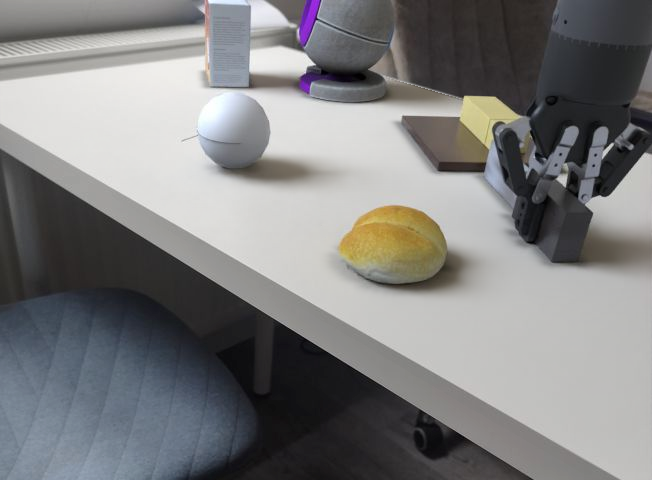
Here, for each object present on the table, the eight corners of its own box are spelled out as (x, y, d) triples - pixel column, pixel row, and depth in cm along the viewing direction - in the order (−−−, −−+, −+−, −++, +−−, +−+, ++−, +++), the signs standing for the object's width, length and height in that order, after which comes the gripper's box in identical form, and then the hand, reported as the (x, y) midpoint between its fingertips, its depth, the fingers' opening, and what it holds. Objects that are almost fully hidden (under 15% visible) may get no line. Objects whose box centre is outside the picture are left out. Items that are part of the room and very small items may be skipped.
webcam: (293, 74, 103) (300, -41, 95) (378, 79, 104) (392, -34, 96) (298, 99, 93) (305, -27, 84) (392, 104, 94) (409, -20, 85)
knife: (577, 261, 59) (593, 212, 56) (551, 262, 59) (566, 212, 56) (497, 176, 74) (507, 134, 72) (476, 176, 74) (485, 134, 71)
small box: (205, 72, 101) (203, -9, 95) (243, 72, 102) (244, -7, 96) (208, 87, 95) (207, 2, 89) (249, 87, 96) (251, 4, 90)
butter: (489, 121, 87) (495, 96, 85) (517, 145, 80) (523, 119, 78) (459, 120, 87) (464, 95, 85) (484, 145, 79) (489, 118, 78)
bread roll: (326, 274, 54) (330, 227, 52) (361, 230, 61) (367, 187, 59) (428, 300, 52) (438, 252, 50) (453, 251, 59) (463, 207, 57)
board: (506, 125, 89) (508, 117, 89) (559, 172, 76) (562, 163, 76) (400, 123, 87) (402, 115, 87) (437, 170, 74) (439, 161, 74)
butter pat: (517, 146, 80) (524, 119, 78) (525, 153, 78) (532, 126, 76) (484, 145, 79) (490, 119, 77) (492, 152, 77) (498, 126, 76)
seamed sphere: (246, 149, 76) (247, 80, 72) (282, 173, 71) (286, 99, 67) (161, 163, 71) (157, 89, 67) (193, 189, 66) (191, 111, 62)
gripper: (536, 37, 48) (482, 258, 58) (717, 44, 50) (635, 257, 60) (497, 16, 54) (455, 219, 64) (660, 23, 56) (595, 220, 66)
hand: (542, 237), depth 62 cm, fingers closed
